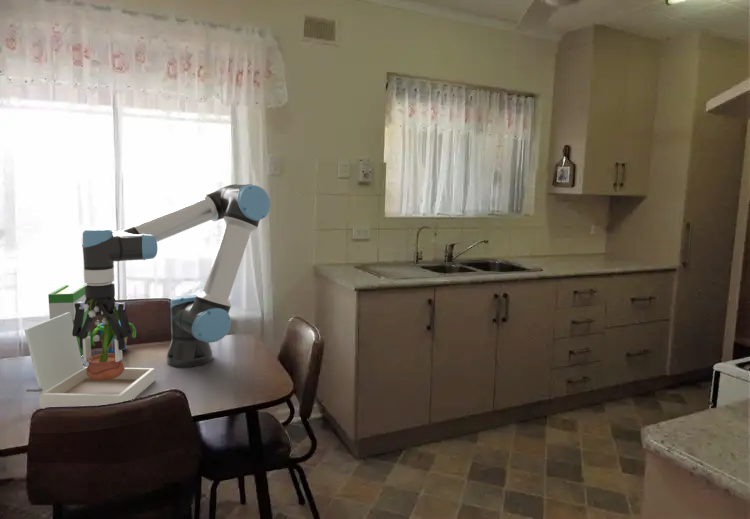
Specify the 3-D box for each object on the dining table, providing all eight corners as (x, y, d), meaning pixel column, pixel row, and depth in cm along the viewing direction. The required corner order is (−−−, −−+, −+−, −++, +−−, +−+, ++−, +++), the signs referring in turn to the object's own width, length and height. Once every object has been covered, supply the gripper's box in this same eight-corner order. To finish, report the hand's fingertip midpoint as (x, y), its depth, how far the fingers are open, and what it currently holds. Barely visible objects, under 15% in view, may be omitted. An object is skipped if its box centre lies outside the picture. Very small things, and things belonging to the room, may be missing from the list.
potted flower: (104, 386, 144) (100, 298, 141) (72, 383, 146) (68, 296, 143) (132, 372, 156) (128, 290, 152) (102, 369, 158) (99, 288, 154)
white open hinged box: (154, 380, 162) (152, 312, 160) (121, 410, 141) (117, 332, 138) (73, 378, 162) (69, 311, 159) (27, 408, 141) (21, 330, 138)
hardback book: (69, 348, 193) (65, 284, 189) (91, 347, 194) (87, 284, 191) (52, 363, 176) (48, 294, 172) (76, 362, 178) (72, 293, 174)
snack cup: (131, 343, 200) (130, 317, 199) (141, 349, 193) (140, 323, 191) (87, 351, 189) (85, 324, 188) (96, 358, 182) (94, 330, 181)
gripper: (142, 281, 151) (145, 356, 154) (70, 280, 151) (74, 355, 154) (130, 286, 144) (133, 365, 147) (54, 284, 143) (58, 363, 146)
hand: (103, 359), depth 150 cm, fingers closed on potted flower, 8 cm apart
